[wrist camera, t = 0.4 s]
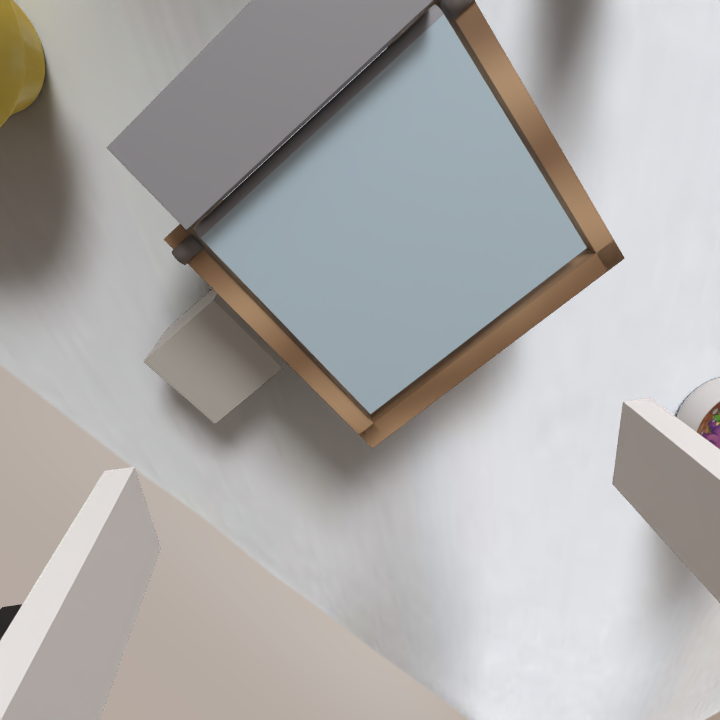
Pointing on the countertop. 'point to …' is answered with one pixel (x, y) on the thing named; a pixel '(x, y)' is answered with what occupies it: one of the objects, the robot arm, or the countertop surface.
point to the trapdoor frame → (500, 331)
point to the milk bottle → (703, 411)
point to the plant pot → (18, 61)
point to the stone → (213, 357)
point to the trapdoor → (354, 182)
